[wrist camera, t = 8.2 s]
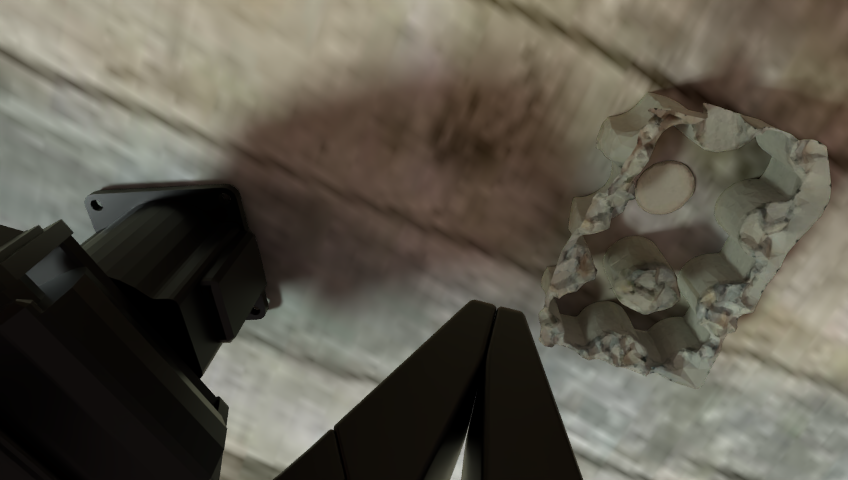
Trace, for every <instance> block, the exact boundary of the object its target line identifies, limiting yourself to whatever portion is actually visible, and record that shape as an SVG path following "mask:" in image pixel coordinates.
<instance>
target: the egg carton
mask: <svg viewBox="0 0 848 480" xmlns="http://www.w3.org/2000/svg"><path fill="white" fill-rule="evenodd" d="M673 125H675V127H676V128H677V129H678V130H679V131H681V132H682V133H683V134H684V135H685V136H687V137H688V138H689V139H690V140H692V141H693V142H694V143H696V144H697V145H699V146H700V147H702V148H703V149H705V150H707V151H713V152H723V151H728V150H734V149H738V148H740V147H741V146H743V145H745V144H747V143H748V142H750V141H751V140H752V139H753V138H755V137H756V140H757V143H758V145H759V146H760V147H761V148H762V149H763V150H764V151H766V152H767V153H768V154H770V155H771V156H772V158H771V160H770V163H769V165H768V167H767V169H766V171H765V172H764V174H763V175H762V176H761V178H760V179H746V180H743V181H740V182H737V183H734V184H733V185H731V186H730V187H729V188H727V189H726V190H725V191H724V192H723V193H722V194H721V195H720V197H719V198H718V200H717V202H716V205H715V211H714V214H715V218H716V221H717V222H718V224H719V225H720V226H721V227H722V228H723V229H724V230H725V231H726V232H727V233H728V234H729V237H728V239H727V240H726V242H725V244H724V246H723V248H722V249H721V251H720V252H719V253H708V254H703V255H700V256H697V257H695V258H693V259H691V260H690V261H688V262H687V263H686V264H685V265H684V266H683V268H682V269H681V271H680V273H679V275H678V278H677V277H676V275H675V273H674V271H673V270H672V268H671V267H670V265H669V264H668V263H667V261H666V260H665V258H664V257H663V255H662V254H661V252H660V251H659V249H658V248H657V247H656V246H655V244H654V243H653V242H652V241H650V240H648V239H646V238H644V237H639V236H631V237H625V238H622V239H620V240H618V241H617V242H615V243H614V244H613V245H612V246H611V247H610V248H609V249H608V250H607V251H606V253H605V256H604V260H603V267H604V271H605V273H606V275H607V277H608V279H609V282H610V284H611V286H612V288H611V289H613V291H614V293H615V295H616V297H617V299H618V300H619V301H620V302H621V303H622V304H623V305H625V306H627V307H629V308H631V309H633V310H635V311H637V312H639V313H641V314H650V313H653V312H655V311H661V310H665V309H667V308H670V307H672V306H673V305H675V304H676V303H677V302H678V301H679V299H680V291H681V292H682V294H683V295H684V297H685V298H686V300H687V301H688V303H689V304H690V307H689V309H688V310H687V312H686V314H685V315H684V316H683V317H670V318H666V319H662V320H661V321H659V322H657V323H656V324H654V325H653V326H652V327H651V328H650V329H649V330H647V331H642V330H637V329H634V328H633V326H632V323H631V321H630V319H629V317H628V315H627V314H626V312H625V311H624V310H623V308H622V307H621V306H620V305H618V304H616V303H614V302H610V301H600V302H596V303H593V304H590V305H589V306H587V307H585V308H584V309H583V310H582V311H581V312H580V314H579V315H578V316H576V317H573V316H569V315H563V314H560V313H559V309H558V306H557V303H556V301H555V298H554V297H556V298H558V299H559V298H561V297H562V296H563V295H564V294H567V293H571V292H576V291H577V290H579V289H580V288H581V287H582V286H583V285H584V284H585V283H586V282H588V281H591V280H594V279H595V278H596V274H597V269H596V268H595V266H594V263H593V259H592V256H591V253H590V250H589V248H588V245H587V243H586V241H585V239H584V237H583V235H586V234H594V233H598V232H601V231H604V230H607V229H609V228H610V221H611V218H613V217H616V216H617V215H619V214H620V213H622V212H623V211H624V210H625V206H626V204H627V202H628V200H633V199H635V198H636V201H637V203H638V205H639V206H640V207H641V208H642V209H643V210H644V211H646V212H648V213H651V214H660V215H661V214H668V213H671V212H673V211H675V210H677V209H679V208H681V207H682V206H683V205H684V204H685V203H686V201H687V200H688V199H689V198H690V197H691V196H692V195H693V191H694V188H695V186H694V177H693V175H692V173H691V171H690V170H689V168H688V167H687V166H685V165H684V164H682V163H680V162H677V161H665V162H660V163H657V164H654V165H652V166H651V167H649V168H648V169H646V170H645V171H644V172H643V173H642V174H641V176H640V177H639V179H638V180H637V183H636V187H635V188H634V181H633V180H634V179H635V177H636V176H637V175H638V174H640V173H641V172H642V170H643V168H644V167H645V165H646V164H647V162H648V161H649V159H650V157H651V154H652V152H653V149H654V147H655V144H656V142H657V140H658V138H659V137H660V135H661V134H662V133H663V132H664V131H665V130H666V129H667V128H668V127H670V126H673ZM596 143H597V146H596V148H598V149H600V150H601V151H602V152H603V153H604V155H605V156H606V157H607V158H608V159H610V160H611V161H612V171H611V175H610V178H609V180H608V181H607V183H606V184H605V185H604V186H603V187H602V188H601V189H599V190H598V191H597V192H595V193H593V194H591V195H589V196H584V197H574V198H573V201H572V205H571V212H570V217H569V226H568V229H569V231H570V232H571V234H572V236H571V237H570V239H569V240H568V242H567V243H566V245H565V246H564V248H563V249H562V251H561V254H560V257H559V260H558V263H557V266H553V267H550V266H549V267H547V268H546V270H545V272H544V274H543V277H542V281H541V287H542V289H543V290H544V291H545V294H546V298H545V305H544V308H543V309H542V310H541V311H540V313H539V321H540V324H541V334H540V337H539V341H540V342H541V343H542V344H543V345H544V346H548V347H553V346H554V344H558V345H562V346H565V347H568V348H570V349H572V350H575V351H576V352H577V353H578V354H579V355H580V356H582V357H583V358H585V359H588V360H592V359H601V360H604V361H606V362H609V363H611V364H612V365H614V366H616V367H623V368H627V369H630V370H632V371H635V372H637V373H640V374H642V375H644V376H647V375H648V374H651V373H656V374H659V375H661V376H662V377H664V378H666V379H668V380H670V381H673V382H675V383H678V384H681V385H685V386H688V387H691V388H695V389H699V388H700V387H702V386H703V384H704V382H705V380H706V377H707V375H708V373H709V371H710V369H711V367H712V365H713V363H714V361H715V360H716V358H717V356H718V355H719V353H720V351H721V347H722V342H723V340H724V338H725V337H726V335H727V334H728V333H732V332H735V331H736V329H737V319H738V318H739V317H740V316H741V315H742V314H748V313H752V312H754V311H755V308H756V306H757V304H758V301H759V299H760V296H761V294H762V292H763V290H764V289H765V287H766V285H767V284H768V283H769V281H770V280H771V279H772V278H773V276H774V275H775V274H776V273H777V271H778V270H779V269H780V267H781V265H782V263H783V260H784V258H785V256H786V254H787V253H788V252H789V251H790V249H791V248H792V247H793V246H794V245H795V243H796V242H797V241H798V240H799V239H800V238H801V237H802V236H803V235H804V234H805V233H806V232H807V231H808V230H809V228H810V227H811V226H812V225H813V224H814V223H815V222H816V221H817V220H818V219H819V218H820V217H821V215H822V213H823V211H824V210H825V208H826V206H827V204H828V202H829V200H830V193H831V179H830V170H829V160H828V153H827V147H826V146H825V145H823V144H822V143H820V142H819V141H815V140H806V139H803V140H797V139H796V138H795V137H794V136H793V135H791V134H789V133H787V132H784V131H782V130H779V129H777V128H775V127H773V126H771V125H769V124H767V123H765V122H763V121H761V120H760V119H756V118H752V117H749V116H745V115H742V114H740V113H734V112H732V111H730V110H726V109H723V108H721V107H718V106H714V105H711V104H708V103H703V113H701V112H696V111H692V110H688V109H686V108H685V107H683V106H682V105H681V104H679V103H678V102H676V101H674V100H672V99H671V98H669V97H666V96H662V95H658V94H655V93H650V92H648V93H646V94H645V96H644V97H643V98H642V99H641V100H640V101H639V103H638V104H637V105H636V106H635V107H634V108H632V109H631V110H630V111H628V112H626V113H624V114H621V115H619V116H610V117H608V118H607V119H606V120H605V121H604V123H603V124H602V126H601V128H600V131H599V134H598V137H597V140H596ZM679 289H680V291H679Z"/></svg>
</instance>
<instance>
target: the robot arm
mask: <svg viewBox="0 0 848 480" xmlns="http://www.w3.org/2000/svg"><path fill="white" fill-rule="evenodd" d="M222 193H225V194H227V195H229V196H230V198H231V201H227V200H225V199H224V198H223V196H222ZM96 200H98V201H99V202H101V204H102V205H103V207H101V206H100V205H98V203H97V202H96ZM85 207H86V209H87V212H88V214H89V217H90V219H91V221H92V224H93V226H94V229H95V231H96V233H95V234H94V235H93V236H91V237H90V238H89V239H87V240H86V241H85V242H84V243H82V244H81V245H79V244H78V242H77V241H76V240H75V239H74V238H73V237H72V236H71V235H72V234H73V231H72V230H71V229H70V228H69V227H68V226H67V225H66V224H65V222H64V221H63V220H62V219H61V220H59V221H57V222H55V223H53V224H52V225H50V226H48V227H46V228H44V229H42V228H41V227H40V226H39V225H38V226H36V227H34V228H32V229H30V230H26V231H20V230H17V229H13V228H10V227H6V226H3V225H0V480H219V478H220V470H221V463H222V455H223V450H224V446H225V439H226V432H227V427H226V425H227V417H228V410H229V407H228V405H227V404H226V403H225V402H224V401H223V400H222V399H221V398H220V397H219V396H218V397H215V395H214V394H213V393H212V392H211V391H210V390H209V389H208V388H207V386H206V385H205V384H204V383H203V382H202V381H201V380H200V378H201V377H202V376H203V374H204V373H205V371H206V369H207V368H208V366H209V364H210V363H211V361H212V360H213V358H214V356H215V355H216V353H217V351H218V350H219V348H220V346H221V345H222V343H230V342H231V341H232V340H233V339H234V338H235V337H236V335H237V334H238V332H239V330H240V329H241V327H242V325H243V323H244V322H245V320H257V319H261V318H263V317H264V316H265V314H266V312H267V310H268V302H267V298H266V294H265V290H264V288H265V286H266V284H267V281H266V277H265V273H264V269H263V265H262V261H261V257H260V253H259V249H258V245H257V241H256V237H255V235H254V234H253V233H252V232H251V231H250V230H249V227H248V224H247V220H246V216H245V212H244V208H243V204H242V200H241V196H240V193H239V191H238V190H237V189H236V188H235V187H234V186H232V185H230V184H214V185H195V186H176V187H157V188H138V189H119V190H100V191H95V192H93V193H91V194H90V195H88V196H87V197H86V198H85ZM253 306H257V307H258V308H259V309H260V310H256V309H254V308H253ZM495 313H496V315H495ZM494 318H495V319H494ZM493 322H494V323H493ZM492 326H493V327H492ZM476 393H477V394H476ZM475 397H476V398H475ZM472 410H473V411H472ZM471 414H472V415H471ZM470 418H471V419H470ZM469 422H470V424H469ZM468 426H469V428H468ZM467 430H468V433H467ZM466 433H467V438H466V444H465V451H464V459H463V468H462V477H461V480H583V478H582V475H581V472H580V469H579V466H578V464H577V461H576V458H575V455H574V452H573V450H572V447H571V444H570V441H569V438H568V435H567V433H566V430H565V427H564V424H563V421H562V419H561V416H560V413H559V410H558V407H557V405H556V402H555V399H554V396H553V393H552V391H551V388H550V385H549V382H548V379H547V376H546V374H545V371H544V368H543V365H542V362H541V360H540V357H539V354H538V351H537V348H536V346H535V343H534V340H533V337H532V334H531V331H530V329H529V326H528V323H527V320H526V317H525V315H524V314H523V313H522V312H521V311H517V310H514V309H510V308H506V307H499V308H497V311H496V306H495V305H493V304H490V303H486V302H482V301H478V300H471V301H469V302H468V303H467V304H466V305H465V306H464V307H463V308H462V309H461V310H459V311H458V312H457V313H456V314H455V315H454V316H453V317H452V318H451V319H450V320H449V321H447V322H446V323H445V324H444V325H443V326H442V327H441V328H440V329H439V330H438V331H437V332H436V333H434V334H433V335H432V336H431V337H430V338H429V339H428V340H427V341H426V342H425V343H424V344H423V345H421V346H420V347H419V348H418V349H417V350H416V351H415V352H414V353H413V354H412V355H411V356H410V357H408V358H407V359H406V360H405V361H404V362H403V363H402V364H401V365H400V366H399V367H398V368H396V369H395V370H394V371H393V372H392V373H391V374H390V375H389V376H388V377H387V378H386V379H385V380H383V381H382V382H381V383H380V384H379V385H378V386H377V387H376V388H375V389H374V390H373V391H372V392H370V393H369V394H368V395H367V396H366V397H365V398H364V399H363V400H362V401H361V402H360V403H359V404H357V405H356V406H355V407H354V408H353V409H352V410H351V411H350V412H349V413H348V414H347V415H346V416H344V417H343V418H342V419H341V420H340V421H339V422H338V423H337V424H336V425H335V426H334V430H332V429H331V430H329V431H328V432H327V433H326V434H325V435H323V436H322V437H321V438H320V439H319V440H318V441H317V442H316V443H315V444H314V445H313V446H312V447H310V448H309V449H308V450H307V451H306V452H305V453H304V454H302V455H301V456H300V457H299V458H298V459H297V460H295V461H294V462H293V463H292V464H291V465H290V466H289V467H287V468H286V469H285V470H284V471H283V472H282V473H280V474H279V475H278V476H277V477H275V478H274V479H273V480H450V478H451V476H452V473H453V470H454V468H455V465H456V463H457V460H458V457H459V455H460V452H461V449H462V446H463V443H464V440H465V437H466Z"/></svg>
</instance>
